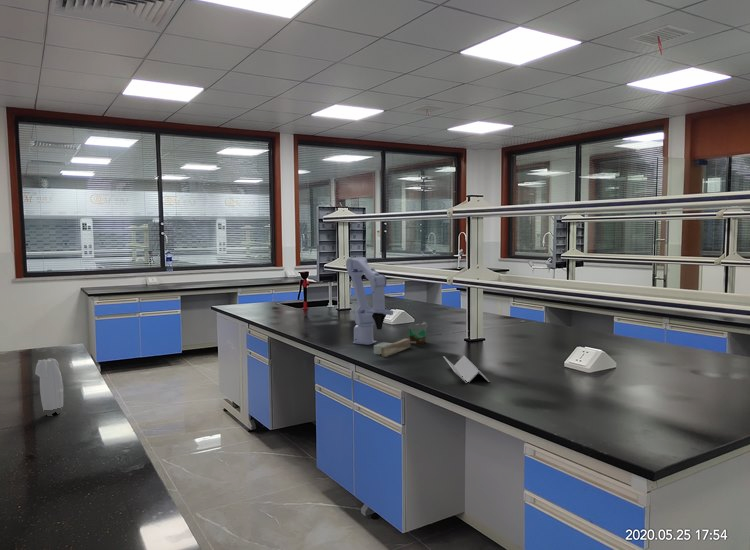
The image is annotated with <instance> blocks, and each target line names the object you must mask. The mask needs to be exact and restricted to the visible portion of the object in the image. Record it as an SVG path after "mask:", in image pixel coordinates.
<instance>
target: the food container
mask: <svg viewBox="0 0 750 550" xmlns="http://www.w3.org/2000/svg"><path fill="white" fill-rule="evenodd" d="M407 327H408V328H407V329H408V331H409V339H410V346H411V345H412V346H413V345H414V346H417V345H419V344H420V345H424V343H425V344H426V339H427V338H426V337H427V328H428V323H427V322H426V321H422V320H421V321H420V323H414V324H408V326H407ZM420 345H419V346H420Z"/></svg>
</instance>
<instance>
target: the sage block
mask: <svg viewBox="0 0 750 550" xmlns="http://www.w3.org/2000/svg"><path fill="white" fill-rule="evenodd" d="M392 343H393V342H391V343H390V342H383V341H382V342H380V343H376V344H374V345H373V354H374V355H380V354H382V351H381V348H382V347H384V346H387V345H390V344H392Z"/></svg>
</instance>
